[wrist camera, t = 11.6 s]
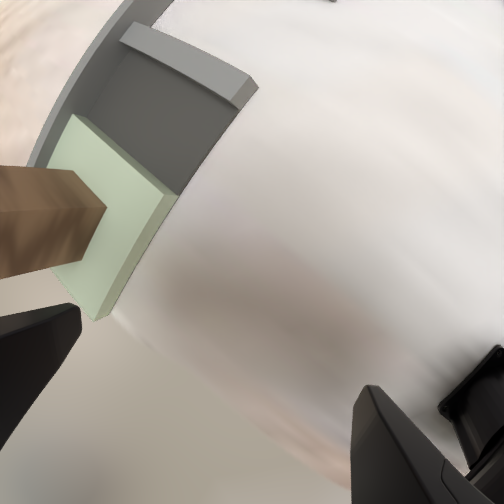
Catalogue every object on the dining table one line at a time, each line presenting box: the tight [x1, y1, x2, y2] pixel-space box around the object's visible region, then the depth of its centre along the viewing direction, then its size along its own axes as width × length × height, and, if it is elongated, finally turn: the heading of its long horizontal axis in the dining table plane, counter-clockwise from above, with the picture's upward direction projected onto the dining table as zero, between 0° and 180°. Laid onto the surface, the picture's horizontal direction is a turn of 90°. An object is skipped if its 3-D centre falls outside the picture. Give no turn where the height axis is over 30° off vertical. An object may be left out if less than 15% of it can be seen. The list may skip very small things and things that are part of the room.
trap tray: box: [26, 0, 336, 322], centre depth 19 cm, size 32×13×4 cm, turn 142°
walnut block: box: [0, 166, 107, 279], centre depth 14 cm, size 5×5×14 cm
